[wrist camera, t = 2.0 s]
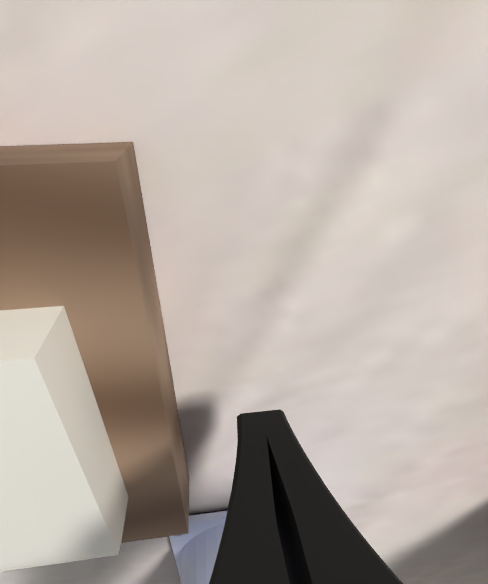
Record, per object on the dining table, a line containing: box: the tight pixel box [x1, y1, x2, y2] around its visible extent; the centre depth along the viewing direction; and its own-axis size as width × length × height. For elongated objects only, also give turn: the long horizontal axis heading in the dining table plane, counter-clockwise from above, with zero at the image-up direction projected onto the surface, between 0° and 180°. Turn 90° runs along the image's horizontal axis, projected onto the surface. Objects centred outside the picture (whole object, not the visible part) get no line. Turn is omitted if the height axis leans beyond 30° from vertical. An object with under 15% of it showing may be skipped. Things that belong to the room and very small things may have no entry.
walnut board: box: [0, 142, 189, 543], centre depth 12 cm, size 16×10×2 cm, turn 1°
